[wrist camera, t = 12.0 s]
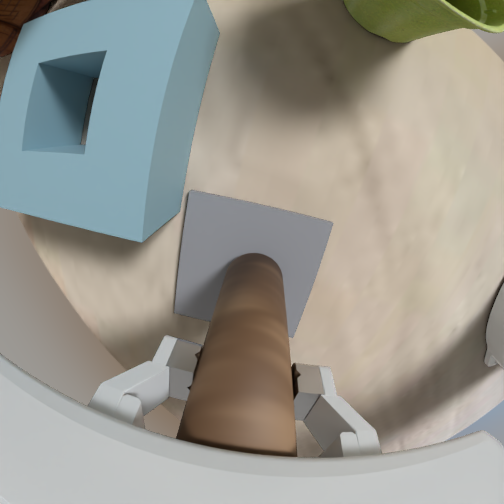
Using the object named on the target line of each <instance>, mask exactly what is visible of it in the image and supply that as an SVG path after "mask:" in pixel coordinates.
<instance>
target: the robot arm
mask: <svg viewBox="0 0 504 504" xmlns="http://www.w3.org/2000/svg"><path fill="white" fill-rule="evenodd" d="M486 342H487V352H486V356H485V360H484V362H485V364H486V365H487V366H488V367H491V366H494V365H496V364H499V365H500V366H501V367H502V368H503V369H504V283H503V285H502V287H501V289H500V291H499V293H498V296H497V298H496V300H495V303H494V305H493V308H492V311H491V314H490V317H489V320H488V324H487V329H486ZM202 347H203V345H201V344H197V343H194V342H190V341H186V340H183V339H180V338H175V337H172V336H169V335H165V336H164V338H163V340H162V342H161V344H160V346H159V348H158V350H157V352H156V354H155V356H154V358H153V360H152V362H151V361H146V362H144V363H142V364H140V365H138V366H136V367H134V368H132V369H130V370H128V371H126V372H124V373H122V374H119V375H117V376H115V377H113V378H111V379H109V380H106V381H104V382H102V383H101V384H100V386H99V387H98V389H97V391H96V393H95V394H94V396H93V398H92V399H91V401H90V403H89V404H88V406H86V405H84V404H82V403H80V402H78V401H76V400H74V399H72V398H70V397H68V396H66V395H64V394H63V393H61V392H59V391H57V390H55V389H53V388H52V387H50V386H48V385H47V384H45V383H43V382H41V381H40V380H38V379H37V378H35V377H34V376H32V375H30V374H29V373H28V372H26V371H24V370H23V369H22V368H20V367H18V366H17V365H16V364H14V363H13V362H12V361H10V360H9V359H7V358H6V357H5V356H3V355H2V354H1V353H0V504H504V448H503V446H502V444H501V443H500V442H499V441H498V440H497V439H496V438H494V437H493V436H492V435H490V434H489V433H487V432H485V431H482V430H481V431H477V432H474V433H471V434H468V435H465V436H462V437H458V438H455V439H452V440H448V441H444V442H441V443H437V444H433V445H428V446H424V447H419V448H414V449H409V450H403V451H397V452H391V453H383V454H382V451H381V447H380V444H379V440H378V436H377V433H376V430H375V429H374V428H373V427H372V426H371V425H370V424H369V423H368V422H367V421H366V420H364V419H363V418H362V417H361V416H360V415H359V414H358V413H357V412H356V411H355V410H354V409H353V408H352V407H351V406H350V405H349V404H348V403H347V402H346V401H345V400H344V399H343V398H342V397H341V396H337V393H336V389H335V384H334V380H333V376H332V372H331V368H330V367H328V366H317V365H308V364H301V363H293V365H292V367H291V372H292V384H293V398H294V413H295V420H303V422H304V423H305V425H306V426H307V427H308V429H309V430H310V432H311V433H312V435H313V436H314V438H315V439H316V440H317V442H318V443H319V445H320V446H321V447H322V449H323V450H324V452H323V453H322V454H321V455H320V456H319V457H318V458H307V457H284V456H271V455H260V454H252V453H244V452H237V451H231V450H225V449H219V448H214V447H209V446H204V445H200V444H195V443H191V442H187V441H183V440H179V439H176V438H172V437H168V436H165V435H161V434H158V433H155V432H152V431H149V430H146V429H145V425H144V419H143V416H145V415H146V414H147V413H149V412H150V411H151V410H153V409H154V408H156V407H157V406H158V405H160V404H161V403H162V402H164V401H165V400H166V399H168V398H169V397H173V398H177V399H181V400H185V401H187V399H188V395H189V392H190V388H191V385H192V383H193V379H194V376H195V373H196V368H197V365H198V362H199V359H200V356H201V353H202Z"/></svg>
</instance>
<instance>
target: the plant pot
mask: <svg viewBox="0 0 504 504" xmlns="http://www.w3.org/2000/svg"><path fill="white" fill-rule="evenodd" d="M343 1H344V4H345V6H346V8H347V10H348V11H349V13H350V14H351V15H352V17H353V18H354V19H355V20H356V21H357V22H358V23H359V24H360V25H361V26H362V27H364V28H365V29H366V30H368V31H369V32H371V33H374V34H377V35H379V36H381V37H384V38H386V39H388V40H390V41H392V42H397V43H406V42H410V41H413V40H416V39H420V38H423V37H426V36H430V35H434V34H437V33H442V32H446V31H450V30H455V29H459V28H467V29H481V30H483V31H486V32H490V33H501V32H504V0H343Z"/></svg>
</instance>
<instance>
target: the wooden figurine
mask: <svg viewBox="0 0 504 504" xmlns="http://www.w3.org/2000/svg"><path fill="white" fill-rule="evenodd" d="M51 1H52V0H0V57H2V56H5V55H8V54H10V53H11V52H13V51H14V48H15V45H16V42H17V39H18V37H19V34H20V31H21V29H22V27H23V24H25V23H27V22H29V21H32V20H34V19H36V18H39V17H41V16H44V15H45V14H46V12H47V11H48V8H49V4H50V2H51Z"/></svg>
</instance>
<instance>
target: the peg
mask: <svg viewBox="0 0 504 504" xmlns="http://www.w3.org/2000/svg"><path fill="white" fill-rule="evenodd" d="M176 439H179V440H183V441H187V442H191V443H195V444H200V445H204V446H209V447H214V448H219V449H225V450H231V451H237V452H244V453H252V454H260V455H271V456H284V457H297V446H296V428H295V413H294V398H293V384H292V372H291V359H290V348H289V336H288V325H287V315H286V305H285V295H284V285H283V276H282V272H281V269H280V267H279V266H278V264H277V263H276V262H275V261H274V260H273V259H272V258H270V257H268V256H266V255H264V254H260V253H247V254H244V255H241V256H239V257H237V258H236V259H235V260H233V261H232V262H231V264H230V265H229V267H228V269H227V272H226V275H225V278H224V281H223V284H222V287H221V290H220V294H219V297H218V300H217V303H216V306H215V309H214V313H213V316H212V319H211V322H210V325H209V329H208V332H207V335H206V338H205V342H204V345H203V348H202V353H201V356H200V359H199V362H198V365H197V368H196V373H195V376H194V379H193V383H192V385H191V388H190V392H189V395H188V399H187V402H186V405H185V409H184V412H183V416H182V419H181V423H180V426H179V430H178V433H177V437H176Z"/></svg>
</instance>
